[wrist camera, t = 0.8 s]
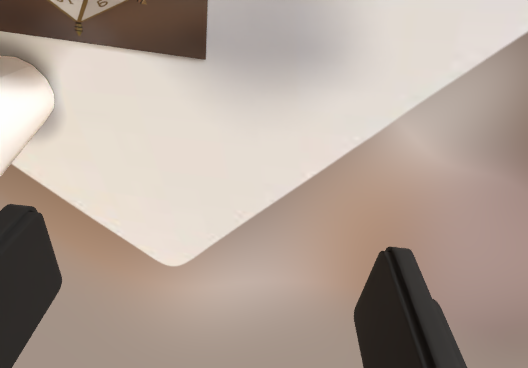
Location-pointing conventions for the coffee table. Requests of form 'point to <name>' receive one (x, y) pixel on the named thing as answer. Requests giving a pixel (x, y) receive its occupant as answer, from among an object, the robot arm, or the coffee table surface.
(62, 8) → the game die
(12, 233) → the robot arm
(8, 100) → the foam cup
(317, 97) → the coffee table surface
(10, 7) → the plate
